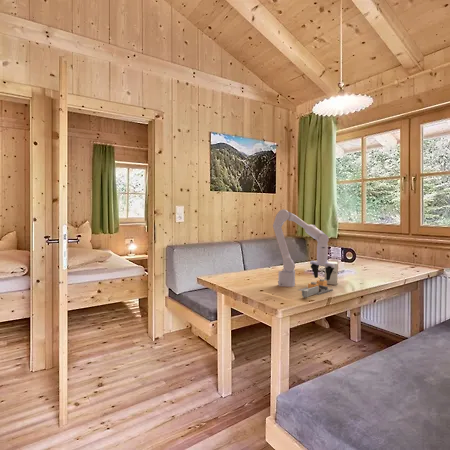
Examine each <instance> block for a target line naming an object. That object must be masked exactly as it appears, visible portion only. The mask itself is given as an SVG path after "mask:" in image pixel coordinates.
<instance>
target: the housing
mask: <svg viewBox="0 0 450 450" xmlns="http://www.w3.org/2000/svg"><path fill="white" fill-rule="evenodd" d="M305 289H308V286H307V287H303V288H299V289H298V291H300V292H302V290H305ZM333 291H334V289H333V288H331V289H329V288H328V285H327V286H322V285H319V293H317V294H315V295H316V296H320V295H324V294H326V293H330V292H333Z"/></svg>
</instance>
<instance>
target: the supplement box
mask: <svg viewBox="0 0 450 450" xmlns="http://www.w3.org/2000/svg"><path fill="white" fill-rule="evenodd" d="M338 262H339V261H329V260H328V263H332V264H335V267H334V270H333V271H332V273H331V276H330V280H327V279H326V269H325V268H326V266H324V274H323V275H324V280H325V281H327V285H331V286H332V285H335V286H337V285H338V271H339V270H338V268H339V267H338V266H339V263H338Z"/></svg>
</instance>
